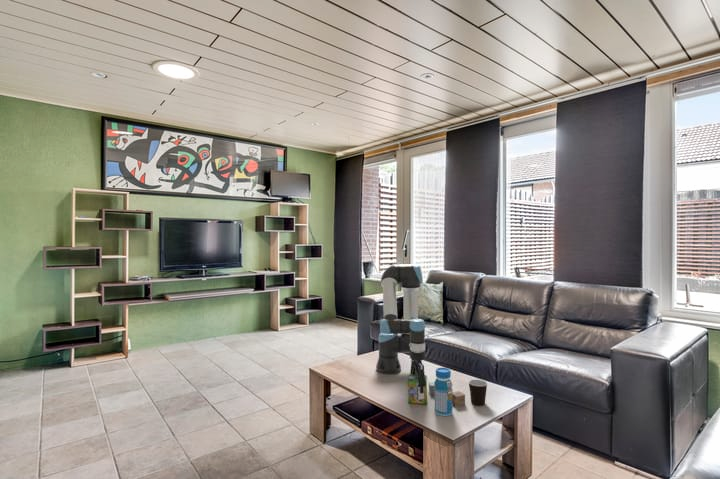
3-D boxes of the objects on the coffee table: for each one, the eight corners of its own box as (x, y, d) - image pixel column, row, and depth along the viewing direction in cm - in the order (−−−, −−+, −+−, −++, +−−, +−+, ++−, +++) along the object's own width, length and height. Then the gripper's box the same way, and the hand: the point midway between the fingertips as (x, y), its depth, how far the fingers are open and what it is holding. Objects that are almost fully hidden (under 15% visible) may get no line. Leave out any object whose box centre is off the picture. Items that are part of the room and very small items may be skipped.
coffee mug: (484, 408, 184) (484, 387, 183) (466, 404, 188) (466, 384, 188) (490, 399, 193) (490, 379, 193) (473, 395, 198) (473, 376, 198)
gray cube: (428, 391, 205) (428, 381, 205) (438, 391, 204) (438, 381, 204) (430, 395, 200) (430, 385, 200) (439, 395, 199) (439, 385, 199)
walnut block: (450, 402, 191) (450, 392, 190) (458, 400, 192) (458, 390, 192) (456, 406, 186) (456, 396, 186) (465, 404, 188) (464, 394, 188)
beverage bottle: (436, 416, 176) (435, 373, 176) (432, 408, 184) (432, 366, 184) (454, 416, 176) (454, 372, 176) (450, 408, 184) (450, 366, 184)
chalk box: (426, 404, 188) (426, 374, 188) (407, 403, 190) (407, 373, 190) (427, 397, 197) (427, 368, 197) (409, 395, 199) (409, 367, 199)
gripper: (404, 344, 204) (404, 385, 204) (416, 358, 181) (417, 405, 181) (417, 343, 205) (418, 384, 205) (432, 357, 182) (432, 403, 183)
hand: (417, 394), depth 193 cm, fingers closed on chalk box, 11 cm apart
